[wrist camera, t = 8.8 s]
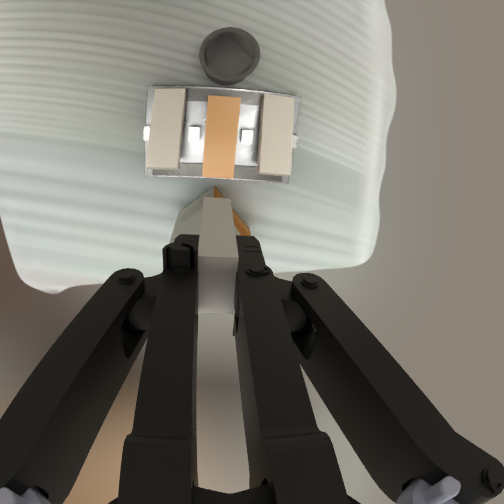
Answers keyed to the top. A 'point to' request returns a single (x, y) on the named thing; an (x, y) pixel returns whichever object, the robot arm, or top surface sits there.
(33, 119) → the top surface
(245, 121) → the plate
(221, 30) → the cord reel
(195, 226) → the small box
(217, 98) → the paddle mid
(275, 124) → the beige rectangular tile
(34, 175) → the top surface
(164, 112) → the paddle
